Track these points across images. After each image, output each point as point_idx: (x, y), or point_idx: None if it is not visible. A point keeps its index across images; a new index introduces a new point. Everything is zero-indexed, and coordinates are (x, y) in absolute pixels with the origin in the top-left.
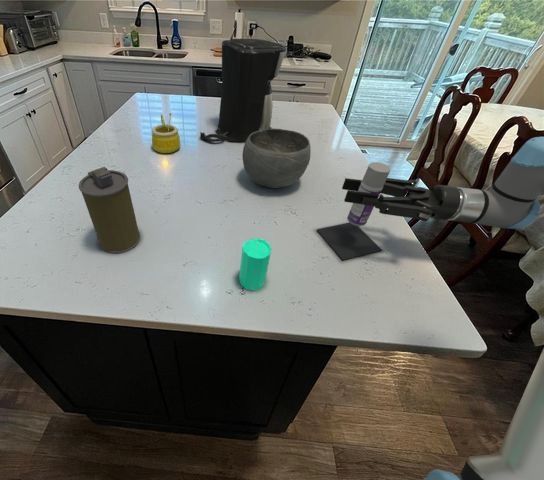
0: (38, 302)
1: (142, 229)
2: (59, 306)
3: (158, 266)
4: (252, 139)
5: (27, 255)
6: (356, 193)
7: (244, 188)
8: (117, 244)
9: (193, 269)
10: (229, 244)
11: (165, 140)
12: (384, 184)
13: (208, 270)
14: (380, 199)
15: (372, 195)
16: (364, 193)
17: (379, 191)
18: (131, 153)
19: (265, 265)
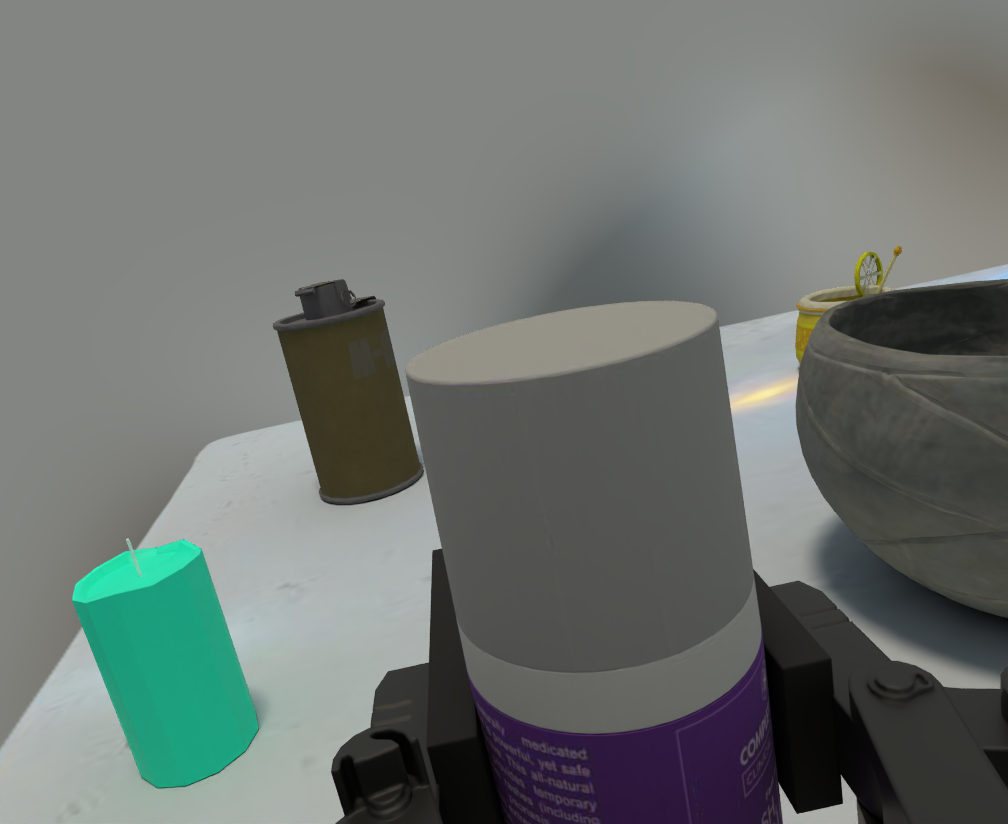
0: (181, 498)
1: (421, 487)
2: (165, 516)
3: (278, 555)
4: (987, 319)
5: (304, 445)
6: (431, 593)
7: (826, 536)
8: (317, 472)
9: (266, 606)
10: (405, 627)
11: (812, 326)
12: (907, 799)
13: (261, 632)
14: (357, 791)
15: (431, 699)
16: (443, 632)
17: (503, 717)
18: (745, 359)
19: (101, 655)
